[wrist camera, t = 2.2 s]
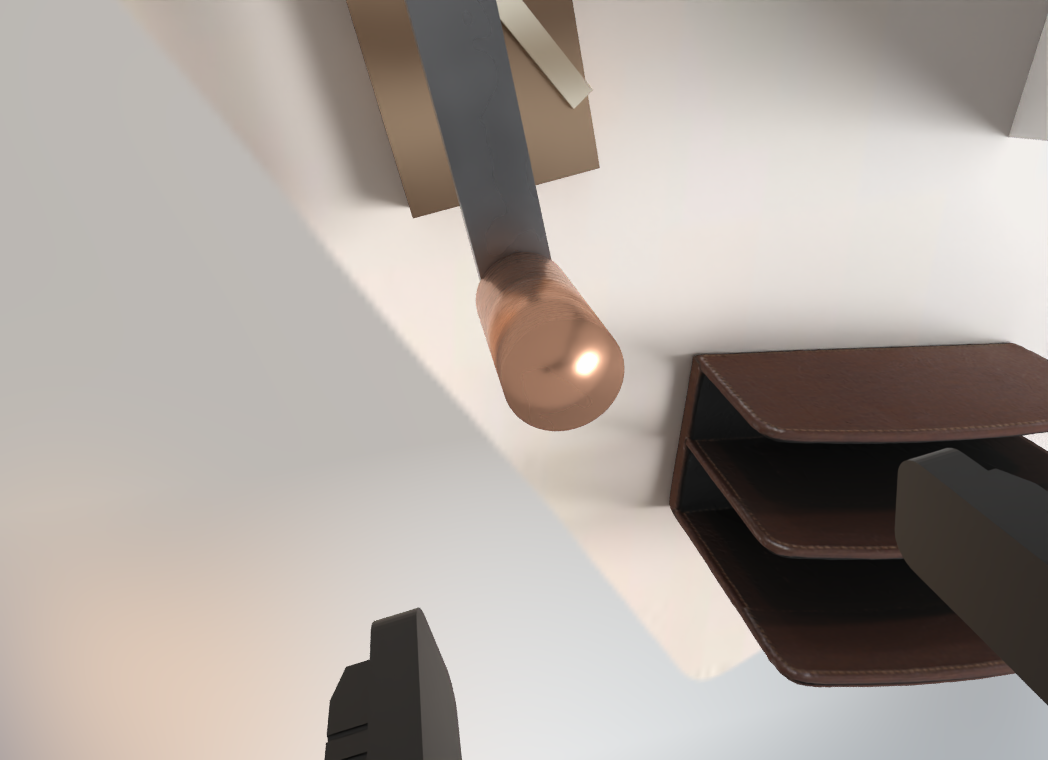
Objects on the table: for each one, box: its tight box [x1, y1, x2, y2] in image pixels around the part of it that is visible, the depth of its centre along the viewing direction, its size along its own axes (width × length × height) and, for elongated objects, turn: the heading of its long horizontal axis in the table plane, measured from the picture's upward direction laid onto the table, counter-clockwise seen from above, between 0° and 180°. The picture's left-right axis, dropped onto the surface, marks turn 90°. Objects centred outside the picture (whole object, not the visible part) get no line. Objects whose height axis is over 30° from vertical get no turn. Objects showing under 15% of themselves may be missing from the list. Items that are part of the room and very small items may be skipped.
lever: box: [404, 0, 624, 431], centre depth 17 cm, size 17×4×8 cm, turn 13°
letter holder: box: [669, 343, 1048, 687], centre depth 33 cm, size 10×20×14 cm, turn 88°
